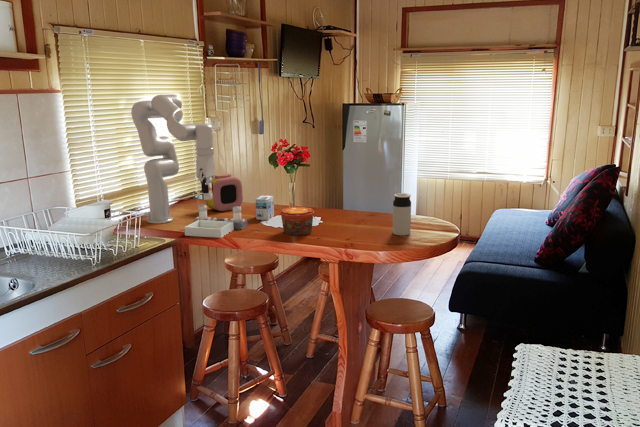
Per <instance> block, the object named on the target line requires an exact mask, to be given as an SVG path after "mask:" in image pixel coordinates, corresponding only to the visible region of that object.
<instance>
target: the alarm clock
mask: <svg viewBox="0 0 640 427" xmlns="http://www.w3.org/2000/svg"><path fill="white" fill-rule="evenodd" d="M212 197H213V199H211V200H205V202H206V204H205V205H207V208H209V209H211V210H216V211H218V212H222V213H223V212H227V211H233V207H235V206H240V207H242V206H241V205H242V203H243V198H244V197H243V184H242V181H241V179H240V178H238V177H237V176H232V173H221V174H220V173H219V174H214V177H213V191H212Z"/></svg>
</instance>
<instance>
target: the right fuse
mask: <svg viewBox="0 0 640 427" xmlns="http://www.w3.org/2000/svg"><path fill="white" fill-rule="evenodd" d="M232 213H233V214H232V215H233V216H232V217H233V219H234V223H241V220H242V219H243V218H242V206H235V207H233V210H232Z"/></svg>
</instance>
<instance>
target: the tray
mask: <svg viewBox="0 0 640 427" xmlns="http://www.w3.org/2000/svg"><path fill="white" fill-rule="evenodd" d="M183 228H184V236H186V237H187V236H189V237H202V238H217V239H218V238H219V239H221V238H223V237H225V236H226V234H227V235H228V234H229V232H230V233H232V232H233V231H234V230H235V229H234V225H233V222H228V221H209V220H197V221H195V222H194V221H193V222H192V223H190V224H188V225H186V226H184V227H183ZM224 235H225V236H224Z"/></svg>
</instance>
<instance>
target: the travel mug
mask: <svg viewBox="0 0 640 427" xmlns="http://www.w3.org/2000/svg"><path fill="white" fill-rule="evenodd" d="M393 196H394V199H393V201H392V202H393V203H392V206H393V207H392V208H393V209H392V233H393V234H394V235H396V236H408V235H410V234H411V228H412V227H411V220H412V219H411V218H412V201H411V196H412V195H411V194H410V193H401V192H400V193H395V194H393Z"/></svg>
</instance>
